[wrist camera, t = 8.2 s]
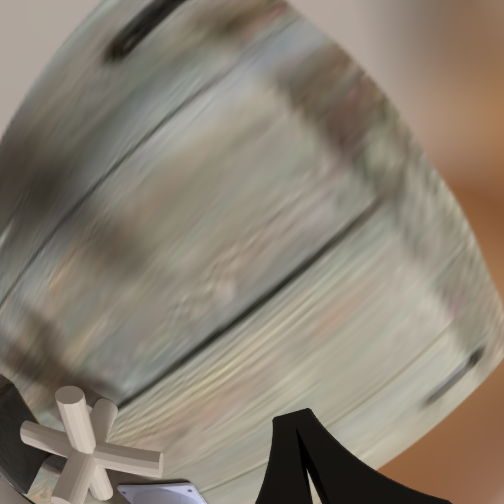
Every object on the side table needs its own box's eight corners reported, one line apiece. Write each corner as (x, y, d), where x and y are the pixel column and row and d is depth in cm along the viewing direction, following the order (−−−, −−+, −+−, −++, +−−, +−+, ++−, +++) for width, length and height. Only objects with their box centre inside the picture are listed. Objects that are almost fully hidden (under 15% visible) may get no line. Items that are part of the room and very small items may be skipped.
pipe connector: (65, 436, 20) (26, 516, 10) (39, 341, 18) (-36, 418, 8) (173, 458, 21) (162, 555, 11) (167, 362, 19) (136, 478, 9)
